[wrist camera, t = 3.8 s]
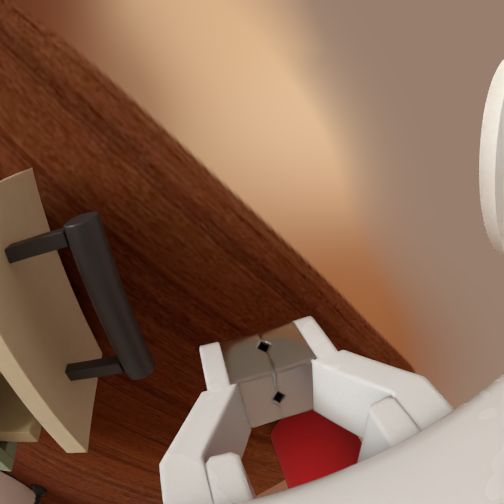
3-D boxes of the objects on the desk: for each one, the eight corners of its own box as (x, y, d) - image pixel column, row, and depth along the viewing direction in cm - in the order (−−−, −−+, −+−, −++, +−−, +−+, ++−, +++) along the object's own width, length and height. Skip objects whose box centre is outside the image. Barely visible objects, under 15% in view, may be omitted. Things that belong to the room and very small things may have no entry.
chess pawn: (49, 491, 24) (48, 510, 21) (41, 492, 24) (39, 511, 21) (36, 484, 23) (34, 503, 21) (29, 485, 23) (26, 504, 21)
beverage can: (285, 449, 27) (327, 550, 16) (254, 422, 24) (299, 548, 13) (346, 417, 27) (403, 513, 17) (326, 383, 24) (396, 502, 13)
